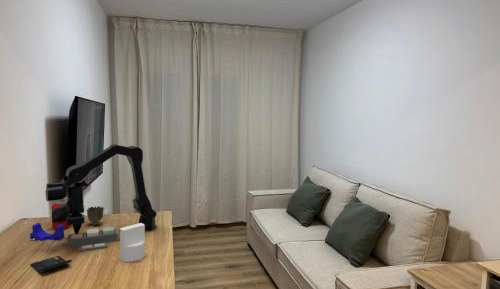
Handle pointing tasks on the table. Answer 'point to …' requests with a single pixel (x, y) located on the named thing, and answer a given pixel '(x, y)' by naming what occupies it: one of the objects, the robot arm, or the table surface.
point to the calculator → (49, 263)
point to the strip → (93, 247)
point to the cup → (95, 214)
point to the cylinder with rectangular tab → (132, 242)
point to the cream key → (92, 232)
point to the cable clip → (42, 235)
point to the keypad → (91, 239)
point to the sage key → (107, 230)
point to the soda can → (61, 219)
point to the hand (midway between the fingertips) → (76, 234)
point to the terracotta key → (76, 236)
